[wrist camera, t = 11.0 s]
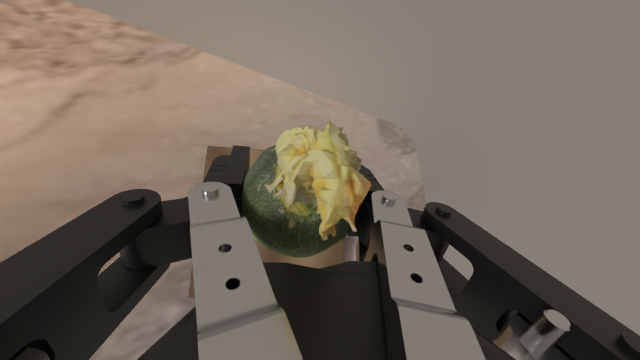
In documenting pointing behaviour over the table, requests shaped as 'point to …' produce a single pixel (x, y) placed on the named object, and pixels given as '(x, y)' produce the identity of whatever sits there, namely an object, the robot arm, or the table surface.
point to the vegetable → (304, 191)
